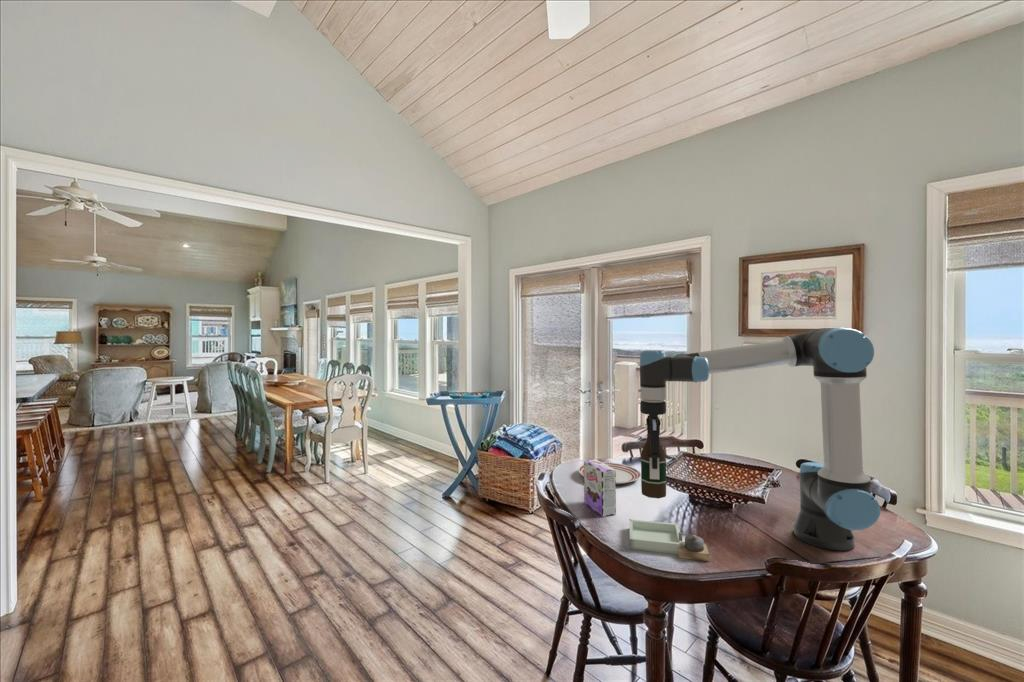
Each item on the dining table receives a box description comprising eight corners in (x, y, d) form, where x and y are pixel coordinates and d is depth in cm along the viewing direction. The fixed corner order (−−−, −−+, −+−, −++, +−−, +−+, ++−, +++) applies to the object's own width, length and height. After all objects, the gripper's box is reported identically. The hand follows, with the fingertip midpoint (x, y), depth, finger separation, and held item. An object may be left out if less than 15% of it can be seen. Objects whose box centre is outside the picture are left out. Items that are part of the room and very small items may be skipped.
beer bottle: (671, 493, 132) (670, 416, 132) (661, 500, 127) (660, 419, 126) (647, 487, 138) (646, 413, 137) (636, 494, 132) (635, 416, 131)
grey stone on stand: (705, 550, 126) (705, 532, 126) (709, 561, 120) (709, 542, 120) (676, 547, 128) (676, 529, 128) (678, 557, 122) (678, 538, 122)
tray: (678, 533, 137) (678, 523, 137) (683, 554, 123) (683, 544, 123) (629, 528, 141) (629, 519, 141) (629, 549, 127) (629, 539, 127)
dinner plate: (642, 471, 200) (642, 464, 200) (640, 491, 174) (640, 483, 174) (583, 466, 209) (583, 459, 209) (573, 485, 183) (573, 477, 183)
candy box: (583, 503, 163) (583, 460, 163) (597, 501, 165) (596, 458, 164) (602, 517, 150) (601, 470, 149) (616, 515, 151) (616, 468, 151)
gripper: (639, 395, 142) (640, 464, 143) (641, 405, 123) (642, 484, 123) (663, 396, 140) (663, 465, 141) (669, 406, 121) (669, 486, 121)
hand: (653, 474), depth 132 cm, fingers closed on beer bottle, 7 cm apart
